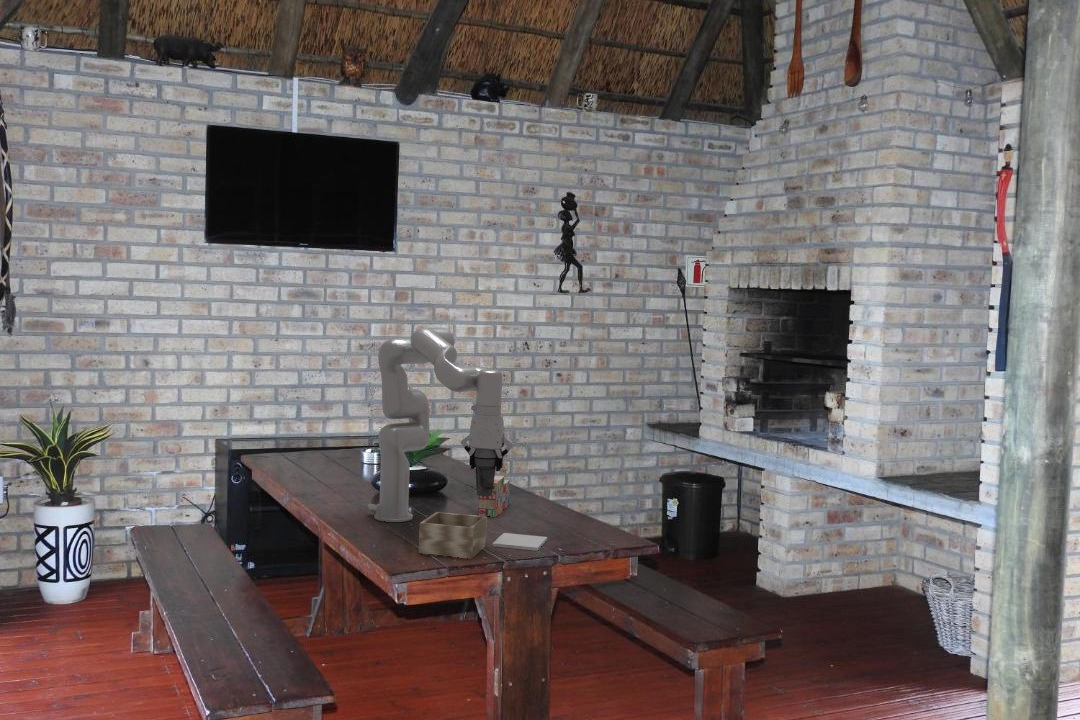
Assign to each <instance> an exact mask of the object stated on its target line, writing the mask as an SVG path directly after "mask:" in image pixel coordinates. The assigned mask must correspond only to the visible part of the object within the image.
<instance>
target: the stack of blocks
mask: <svg viewBox="0 0 1080 720" xmlns="http://www.w3.org/2000/svg"><path fill="white" fill-rule="evenodd" d="M508 506H510V479H505V475H496V474H495V477H494V485H493V492H492V496H487V497H484V496H478V506H477V507H478V508H477V516H490V517H489V518H493V517H495V518H496V516H497V515H498V514H499V515H501V514H502V512H503V511H504V510H505V509H506V508H507V507H508ZM504 508H505V509H504ZM503 509H504V510H503ZM502 510H503V511H502ZM499 515H498V516H499ZM498 516H497V517H498Z"/></svg>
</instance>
